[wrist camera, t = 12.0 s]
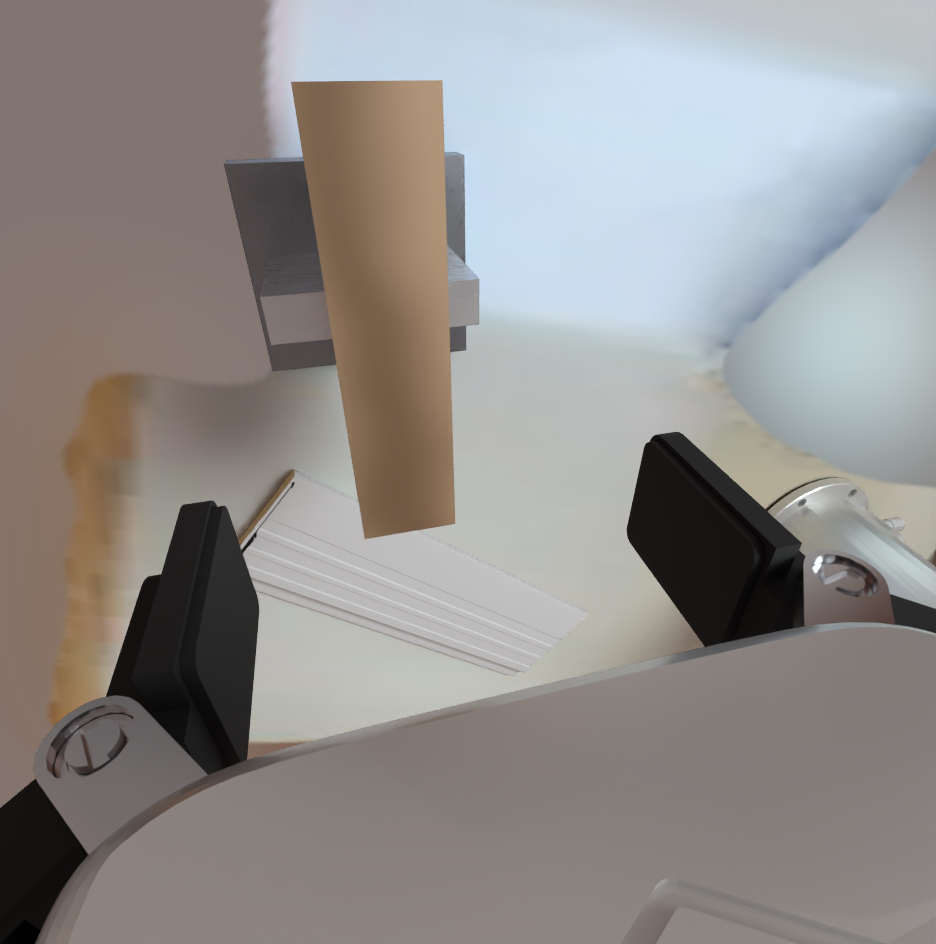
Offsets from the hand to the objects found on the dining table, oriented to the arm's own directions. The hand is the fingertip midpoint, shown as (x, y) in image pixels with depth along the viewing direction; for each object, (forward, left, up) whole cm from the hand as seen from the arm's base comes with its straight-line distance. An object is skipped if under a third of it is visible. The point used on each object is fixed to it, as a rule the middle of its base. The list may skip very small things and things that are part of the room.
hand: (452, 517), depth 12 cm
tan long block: (0, 0, -14) cm, 14 cm away
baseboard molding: (-2, +27, -23) cm, 35 cm away
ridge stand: (0, 0, -22) cm, 22 cm away
